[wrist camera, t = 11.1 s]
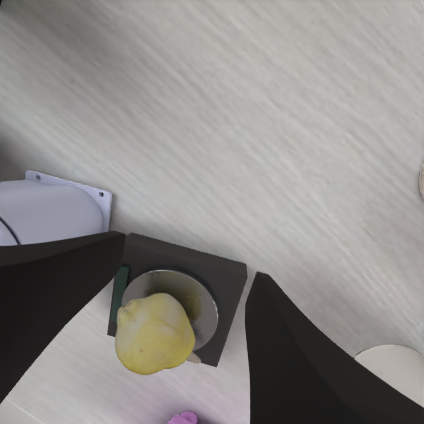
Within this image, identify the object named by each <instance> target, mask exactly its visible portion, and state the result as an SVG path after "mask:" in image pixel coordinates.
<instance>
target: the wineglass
mask: <svg viewBox="0 0 424 424" xmlns="http://www.w3.org/2000/svg"><path fill="white" fill-rule="evenodd" d="M419 189H420V193H421V195H422V197H423V199H424V163H423V165H422V167H421V170H420V174H419Z"/></svg>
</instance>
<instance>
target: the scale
mask: <svg viewBox="0 0 424 424" xmlns="http://www.w3.org/2000/svg"><path fill="white" fill-rule="evenodd" d="M160 266H171V267H177V268H181V269H184V270H187V271H189V272H191V273H193V274H195V275H196V276H198V277H199V278H200V279H202V280H203V281H204V282H205V283H206V284H207V285H208V286H209V288H210V289H211V290H212V292H213V294H214V296H215V298H216V301H217V304H218V311H219V314H218V324H217V328H216V331H215V333H214V335H213V336H212V338H211V339H210V340H209V341H208V342H207V343H206V344H205V345H204V346H202V347H201V348H199V349H197V350H195V351H192V352H193V353H194V354H195V355H197V356H198V357H199V358H200V359H201V362H200V363H204V364H207V365H211V366H214V367H217V365H218V362H219V359H220V356H221V353H222V351H223V348H224V345H225V342H226V339H227V336H228V333H229V330H230V327H231V324H232V321H233V318H234V315H235V312H236V309H237V306H238V303H239V301H240V298H241V295H242V292H243V289H244V286H245V283H246V280H247V269H246V264H244V263H240V262H237V261H233V260H229V259H226V258H222V257H219V256H215V255H211V254H208V253H204V252H200V251H197V250H193V249H190V248H186V247H182V246H179V245H175V244H171V243H168V242H164V241H161V240H157V239H153V238H150V237H146V236H142V235H139V234H135V233H130V234H129V235H128V236H126V237H125V245H124V252H123V259H122V267H121V268H120V270H119V271H118V272H117V273H116V275H115V279H114V287H113V294H112V302H111V310H110V317H109V325H108V333H107V335H109V336H113V337H115V336H116V332H117V327H118V326H117V315H118V310H119V308H120V307H121V305H122V298H123V294H124V292H125V290H126V288H127V286H128V285H129V284H130V283H131V282H132V280H133V279H134V278H135V277H136V276H137V275H139V274H140V273H142V272H143V271H145V270H148V269H151V268H154V267H160Z"/></svg>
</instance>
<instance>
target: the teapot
mask: <svg viewBox="0 0 424 424" xmlns="http://www.w3.org/2000/svg"><path fill="white" fill-rule="evenodd" d="M197 421H198V418H197V416H196V415H195V414H194V413H192V412H189V411H185V412H183V413H181V415H180V416H179V415H177V414H175V415H174V417H173V418H172V419H171V420H170V421H169V422H168V423H167V424H197Z"/></svg>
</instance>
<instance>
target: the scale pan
mask: <svg viewBox="0 0 424 424" xmlns="http://www.w3.org/2000/svg"><path fill="white" fill-rule="evenodd" d="M157 293H167V294H169V295H171V296H172V297H174V298H175V299H176V300H177V301H178V302H179V303H180V304H181V305H182V307H183V308H184V310H185V312H186V315H187V317H188V319H189V322H190V324H191V327H192V329H193V332H194V336H195V345H194V348H193V350H192V351H195V350H197V349H199V348H201V347H202V346H204V345H205V344H206V343H207V342H208V341H209V340H210V339H211V338H212V336H213V335H214V333H215V331H216V328H217V324H218V314H219V311H218V304H217V301H216V298H215V296H214V294H213V292H212V290H211V289H210V288H209V286H208V285H207V284H206V283H205V282H204V281H203V280H202V279H200V278H199V277H198V276H196V275H195V274H193V273H191V272H189V271H187V270H184V269H181V268H177V267H171V266H160V267H154V268H151V269H148V270H145V271H143V272H142V273H140V274H139V275H137V276H136V277H135V278H134V279H133V280H132V282H131V283H130V284H129V285H128V286H127V288H126V290H125V292H124V294H123V298H122V305H121V307H122V306H124V305H126V304H127V303H128V302H129V301H130V300H132V299H133V300H134V299H140V298H146V297H149V296H151V295H153V294H157Z"/></svg>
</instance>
